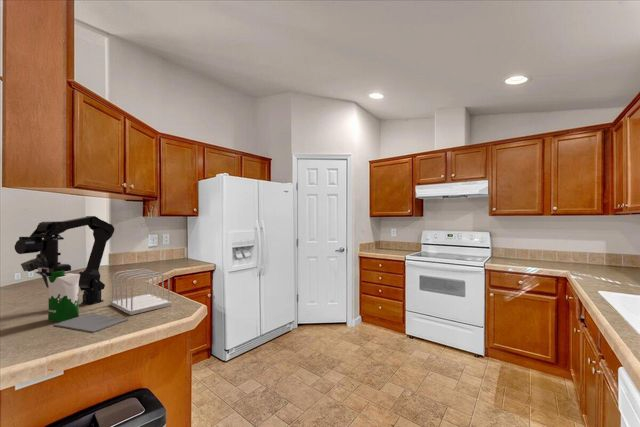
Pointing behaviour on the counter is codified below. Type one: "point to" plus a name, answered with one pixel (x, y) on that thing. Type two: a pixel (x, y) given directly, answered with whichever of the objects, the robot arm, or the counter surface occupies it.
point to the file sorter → (143, 301)
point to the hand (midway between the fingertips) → (48, 287)
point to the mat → (91, 322)
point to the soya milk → (63, 296)
